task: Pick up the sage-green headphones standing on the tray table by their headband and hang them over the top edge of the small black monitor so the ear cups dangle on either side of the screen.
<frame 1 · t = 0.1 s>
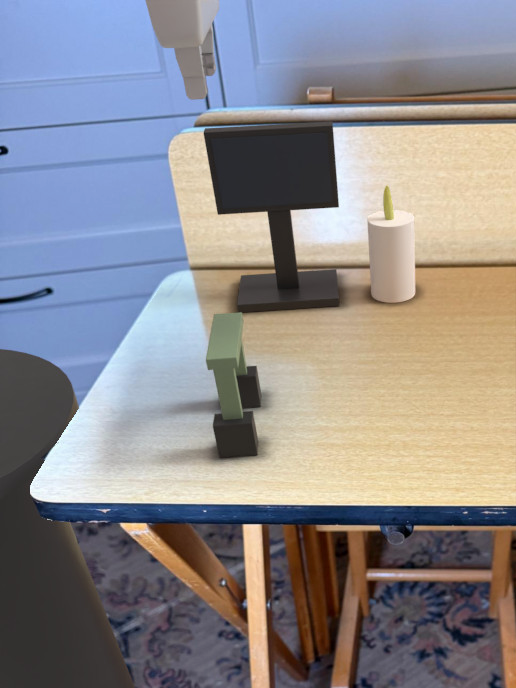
hand: (202, 85, 75), 32 cm above the table, tool pointing down, fingers open, 8 cm apart
monitor: (289, 294, 114), on the table
candle: (393, 294, 113), on the table
headphones: (241, 425, 88), on the table
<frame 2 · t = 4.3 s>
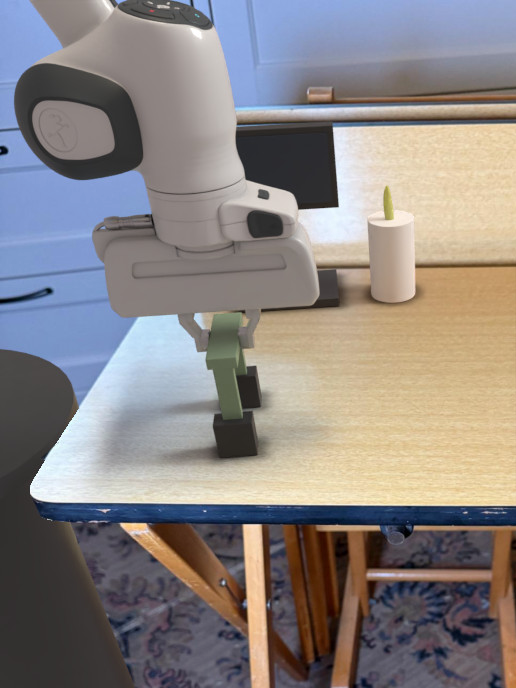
hand: (227, 347, 82), 10 cm above the table, tool pointing down, fingers closed on headphones, 3 cm apart
headphones: (241, 425, 88), on the table, touching gripper
everything else where it was.
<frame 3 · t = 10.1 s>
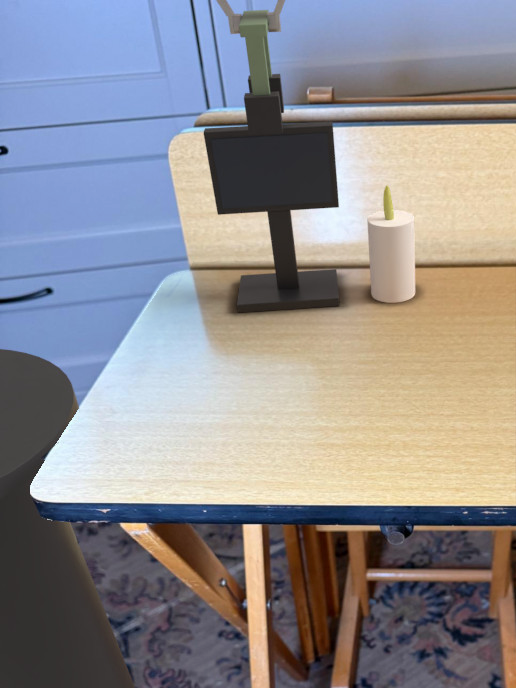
hand: (256, 32, 93), 32 cm above the table, tool pointing down, fingers closed on headphones, 3 cm apart
headphones: (267, 121, 99), point 23 cm above the table, touching gripper
everything else where it was.
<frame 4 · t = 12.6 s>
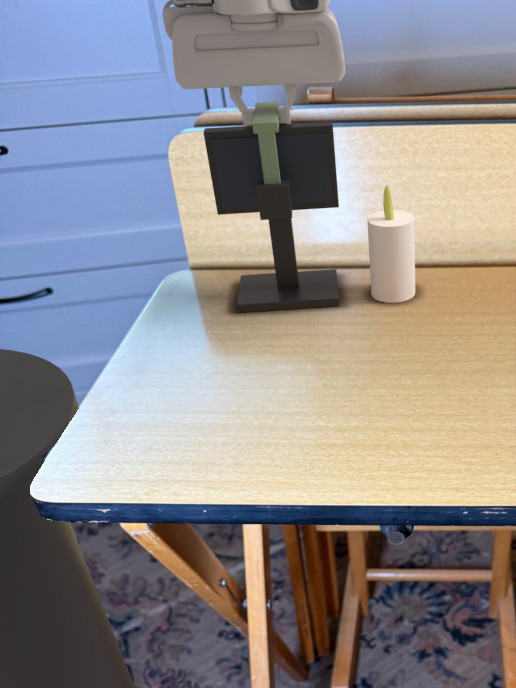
hand: (267, 125, 99), 22 cm above the table, tool pointing down, fingers closed on headphones, 3 cm apart
headphones: (277, 203, 105), point 13 cm above the table, touching gripper
everything else where it was.
when the fingers open (23 cm above the table, at t = 15.9 s): headphones drops 1 cm, resting on monitor.
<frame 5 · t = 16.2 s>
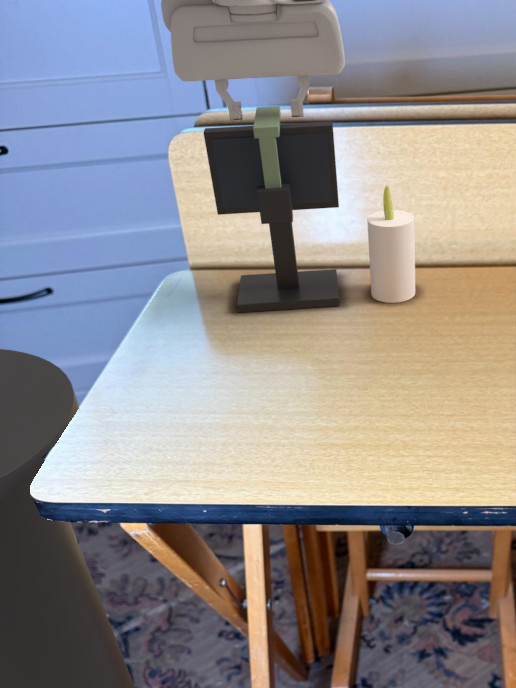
hand: (267, 117, 99), 23 cm above the table, tool pointing down, fingers open, 6 cm apart
headphones: (278, 207, 106), point 12 cm above the table, touching monitor
everything else where it was.
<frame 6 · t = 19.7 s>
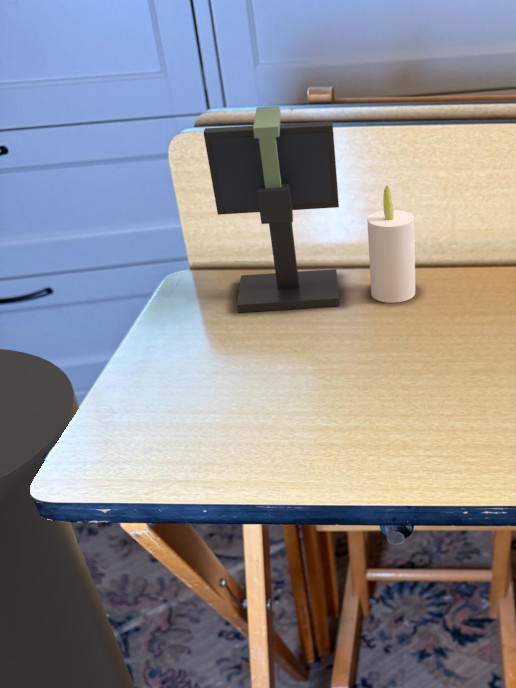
nothing on the table moved.
at the end: headphones inside the target area on the monitor (0.0 cm from its centre), point 12.2 cm above the monitor's base; headphones touching monitor; the gripper is holding nothing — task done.
